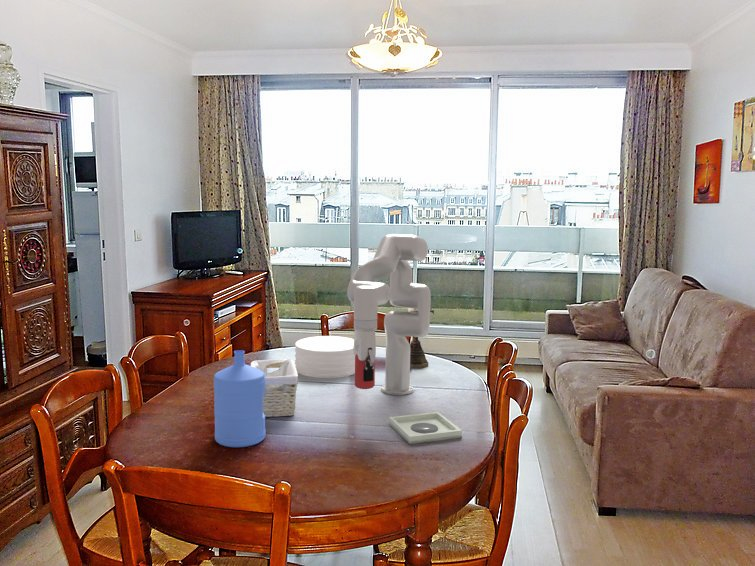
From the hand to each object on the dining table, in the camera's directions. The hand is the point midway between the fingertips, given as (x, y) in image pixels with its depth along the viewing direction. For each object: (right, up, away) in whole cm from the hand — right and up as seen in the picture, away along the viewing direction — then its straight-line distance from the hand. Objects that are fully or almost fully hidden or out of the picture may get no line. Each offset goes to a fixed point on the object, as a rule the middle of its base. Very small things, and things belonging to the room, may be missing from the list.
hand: (364, 377), depth 211 cm
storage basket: (-33, -14, +21) cm, 42 cm away
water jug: (-39, -18, -8) cm, 44 cm away
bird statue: (+22, -7, +78) cm, 81 cm away
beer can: (0, -3, +1) cm, 3 cm away
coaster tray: (+19, -18, +1) cm, 26 cm away
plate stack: (-18, -7, +72) cm, 74 cm away
